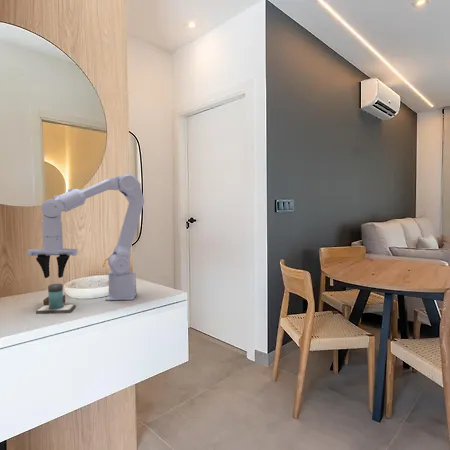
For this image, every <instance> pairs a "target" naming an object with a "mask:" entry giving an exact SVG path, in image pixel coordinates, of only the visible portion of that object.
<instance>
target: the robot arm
mask: <svg viewBox="0 0 450 450" xmlns="http://www.w3.org/2000/svg"><path fill="white" fill-rule="evenodd" d="M106 191H119V192H120V193H121V194H122V195H123V196H124V197H125V199H126V200H127V202H128V205H127V210H126V212H125V216H124V219H123V223H122V226H121V229H120V233H119V236H118V240H117V242H116V245H115V247H114V249H113V251H112V253H111V254H110V256H108V257H109V259H108V260H107V264H108V266H109V267H110V270H109V271H108V295H107V296H106V298H105V300H106V301H128V300H132V301H133V300H134V299H135V298H136V296H137V274H136V272H131V270H130V268H131V256H132V253H131V252H132V250H131V249H132V245H133V242H134V238H135V234H136V231H137V227H138V225H139V221H140V217H141V214H142V211H143V207H144V204H145V198H144V195H143V191H142V187H141V183H140V181H139V179H138V178H137V177H136V176H135V175H134V174H131V173H125V174H122V175H117V176H115V177H110V178H106V179H105V180H102V181H100V182H97V183H95V184H93V185H91V186H89V187H86V188H84V189H80V188H74V189H73V188H69V189H67V191H66V192H64V193H62V194H59V195H57V194H55V195H54V196H53V198H54V199H53V198H48V199H47V200H45V201H44V202H43V203H42V204H41V212H42V224H41V225H42V226H41V228H42V229H41V231H42V248H32V249H31V248H30V249H28V250H27V253H28V255H27V256H28V257H32V256H37V257H36V258H35V259H36V262H37V263H38V264H39V266H40V268H41V271H42V273H43V276H44V279H48V278H49V277H50V276H51V275H50V261H51V260H50V259H51V256H56V262H57V269H58V270H57V272H58V273H57V276H58V278H63V277H64V272H65V268H66V265H67V263H68V261H69V259H70V256H78V249H77V248H64V247H63V246H64V245H63V243H64V242H63V241H64V240H63V238H64V237H63V221H62V212H65V213H66V212H69V211H71V210H73V209H76V208H78V207H80V206H83V205H84V204H85V202H86V199H89V198H91V197H94V196H96V195H99V194H101V193H104V192H106Z"/></svg>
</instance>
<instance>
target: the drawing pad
mask: <svg viewBox="0 0 450 450" xmlns="http://www.w3.org/2000/svg"><path fill="white" fill-rule="evenodd" d="M76 307H77V305H76V304H63V307H62V308H59V309H49V305H42V306H41V307H39V308H38V309H37V310H36V311H35V314H36V315H38V314H41V315H42V314H43V315H44V314H70V313H71V312H73V310H74V309H76Z"/></svg>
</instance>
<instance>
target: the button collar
mask: <svg viewBox="0 0 450 450" xmlns="http://www.w3.org/2000/svg"><path fill="white" fill-rule="evenodd" d="M65 303H66V295H65V294H63V305H65ZM44 305H49V295H48V296H47V297H46V298H44V299H43V305H42V306H44Z"/></svg>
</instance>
